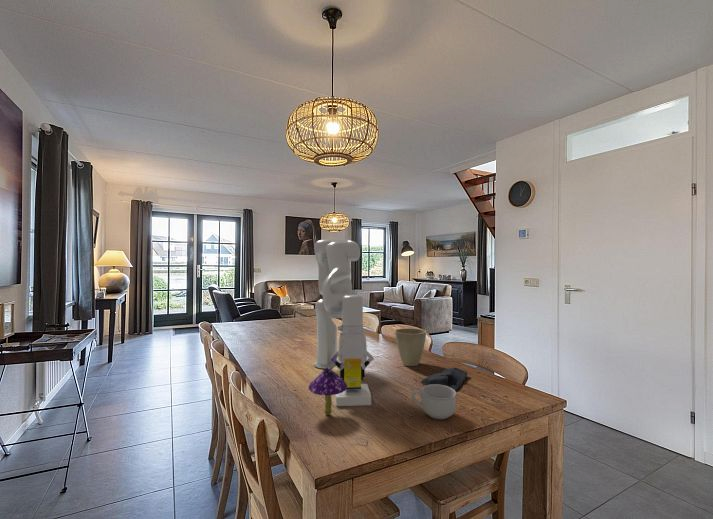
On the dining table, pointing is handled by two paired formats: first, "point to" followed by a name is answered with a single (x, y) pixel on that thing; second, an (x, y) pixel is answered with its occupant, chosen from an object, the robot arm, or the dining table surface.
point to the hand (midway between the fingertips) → (352, 379)
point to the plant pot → (410, 345)
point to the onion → (336, 370)
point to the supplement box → (352, 373)
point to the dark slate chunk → (447, 378)
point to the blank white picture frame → (354, 397)
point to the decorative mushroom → (328, 386)
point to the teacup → (437, 400)
